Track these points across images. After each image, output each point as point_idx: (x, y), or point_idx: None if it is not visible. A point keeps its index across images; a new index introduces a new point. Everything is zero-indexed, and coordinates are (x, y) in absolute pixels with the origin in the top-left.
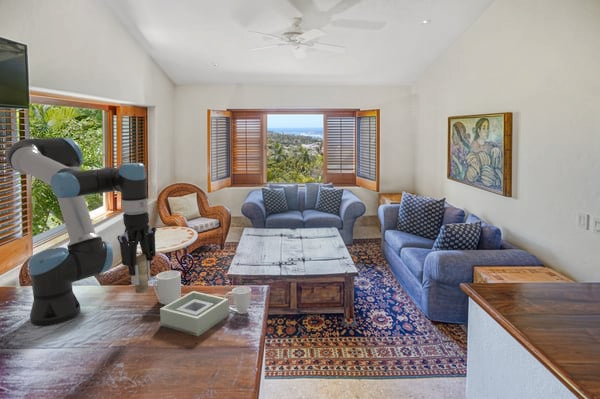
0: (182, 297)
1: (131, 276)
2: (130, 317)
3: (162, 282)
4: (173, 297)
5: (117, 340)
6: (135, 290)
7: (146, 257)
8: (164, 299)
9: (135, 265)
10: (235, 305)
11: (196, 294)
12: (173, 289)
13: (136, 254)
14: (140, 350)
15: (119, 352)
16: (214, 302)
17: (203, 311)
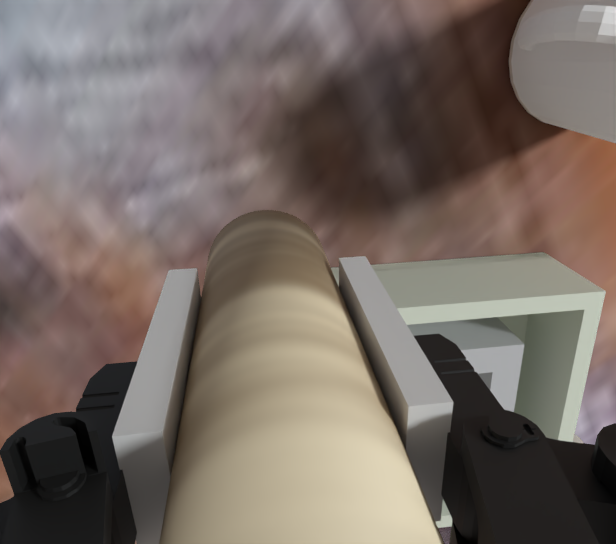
0: (496, 308)
1: (154, 324)
2: (277, 8)
3: (611, 80)
4: (562, 125)
5: (57, 199)
6: (215, 240)
7: (469, 517)
8: (526, 77)
9: (152, 533)
10: None
11: (574, 328)
12: (602, 138)
13: (343, 526)
14: (81, 372)
15: (3, 309)
16: (538, 426)
17: None
